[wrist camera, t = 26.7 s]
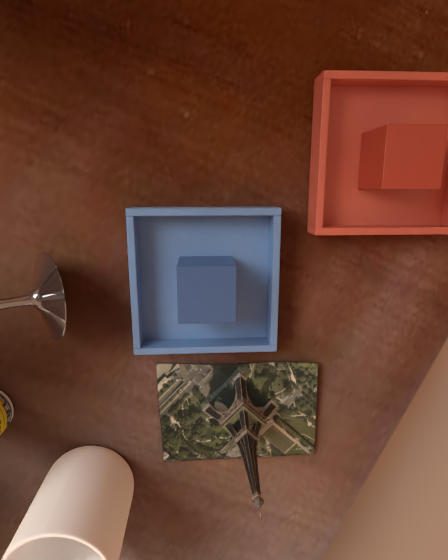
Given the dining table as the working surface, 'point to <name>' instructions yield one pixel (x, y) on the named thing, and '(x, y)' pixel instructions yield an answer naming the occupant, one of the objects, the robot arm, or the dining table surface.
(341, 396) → the dining table surface
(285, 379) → the eiffel tower figurine
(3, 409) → the supplement bottle
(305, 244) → the dining table surface
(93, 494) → the cup
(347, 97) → the red tray
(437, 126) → the red block
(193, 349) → the blue tray
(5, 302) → the wine glass
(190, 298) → the blue block
